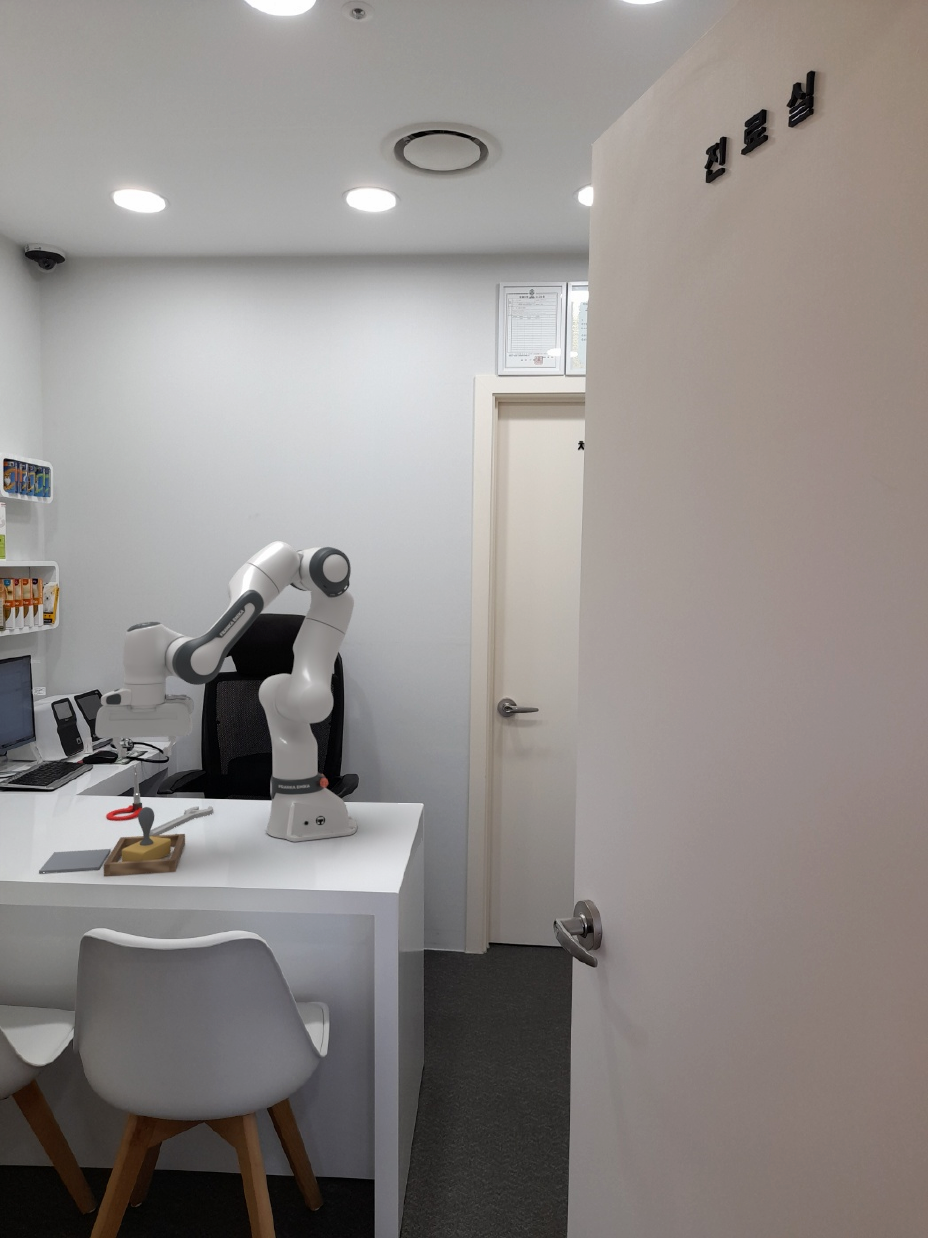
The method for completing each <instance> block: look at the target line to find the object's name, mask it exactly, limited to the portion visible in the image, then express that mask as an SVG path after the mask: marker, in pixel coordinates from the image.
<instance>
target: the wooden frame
mask: <svg viewBox="0 0 928 1238" xmlns="http://www.w3.org/2000/svg"><path fill="white" fill-rule="evenodd" d="M149 837H150V836H149ZM152 837H160V838H168V839H170V840H171V847H173V849H172V852H171V855H170V857H169V858H161V859H158V860H141V861H125V862H122V861H120V859H121V858H122V850H123V849H124V848H126V847H128V846H130V845H132V844H135V843H137V842H139V841H141V840H143V838H144V836H143V835H138V836H122V837H120V838H119V839H118V841H117V842H116V844H115V845H114V847H113V849H112V850H111V852H110V853H109V855H108V856H107V858H106V860H105V861H104V863H103V877H112V876H113V877H114V876H128V875H142V874H143V875H144V874H158V873H159V874H161V873H174V872H176V870H177V867H178V864H179V862H180V859H181V856H182V853H183V852H184V848H185V846H186V834H185V833H176V834H175V833H174V834H160V835H154V836H152Z"/></svg>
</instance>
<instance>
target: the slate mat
mask: <svg viewBox="0 0 928 1238" xmlns="http://www.w3.org/2000/svg"><path fill="white" fill-rule="evenodd" d="M111 852H112V850H111V848H105V849H104V848H103V849H88V850H87V849H85V850H84V849H83V850H70V851H53V853H52V854H51V855H50V857H49V858H48V859H47V860H46V862H45V863H44V864H43V866H41V868H40V869H39V871H38V874H39V873H42V874H47V873H46V872H57V873H70V872H84V871H85V872H86V871H87V872H88V871H100V869H101V868H102V866H103V865H104V863H105V862H106V860H107V859H108V857H109V855H110V854H111ZM43 872H45V873H43Z"/></svg>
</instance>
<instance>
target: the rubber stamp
mask: <svg viewBox="0 0 928 1238" xmlns="http://www.w3.org/2000/svg"><path fill="white" fill-rule="evenodd" d="M137 819H138V820H137V821H138V824H139V826H140V828H141V832H142V836H143V835H144V838H143V840H141V841H139V842H137V843H135V844H132V845H130V846H128V847H126V848H124V849H123V850H122V856H121V862H125V861H141V860H158V859H164V858H165V857H167V856H170V854H171V855H172V852H171V850H172V849H171V848H172V846H171V840H170V839H168V838H160V837H152V836H150V837H149V834H150V830H152V826H153V824H154V823H155V812H154V810H153V809H152V808H151V807H149V806H145V807H142V809H141V810H140V811H139V814H138V816H137Z"/></svg>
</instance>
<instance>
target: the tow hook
mask: <svg viewBox="0 0 928 1238" xmlns="http://www.w3.org/2000/svg"><path fill="white" fill-rule="evenodd" d="M137 769H138V768H137V765H133V773H132V775H133V777H132V778H133V803H132V804H130V805H128V806H127V807H126V808H125V807H124V808H119V809H115V810H112V811H109V812H108V813H106V815H105V818H106V820H108V821H111V822H113V821H114V822H121V821H129V820H133V819H135V818H138V814H139V811H140V810H141V809H142V808H143V802H142V801H141V793H140V787H139V772H138V770H137ZM131 812H132V813H131ZM125 813H131V814H128V815H119V816H116V815H118V814H125Z"/></svg>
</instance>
